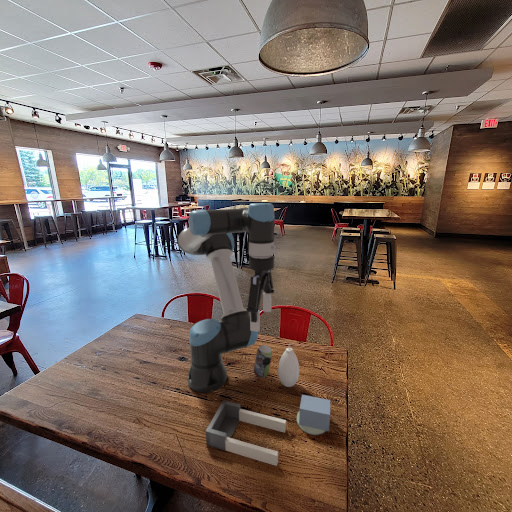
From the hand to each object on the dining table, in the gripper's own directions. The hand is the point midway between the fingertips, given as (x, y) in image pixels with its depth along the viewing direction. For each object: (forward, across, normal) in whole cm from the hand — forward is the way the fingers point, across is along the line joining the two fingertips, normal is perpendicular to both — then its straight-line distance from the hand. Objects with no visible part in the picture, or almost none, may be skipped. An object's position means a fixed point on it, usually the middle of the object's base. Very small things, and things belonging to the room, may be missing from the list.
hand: (261, 320), depth 85 cm
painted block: (+31, -2, -18) cm, 36 cm away
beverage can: (+32, +15, +4) cm, 35 cm away
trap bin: (+32, -14, +8) cm, 35 cm away
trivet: (+32, -2, -18) cm, 36 cm away
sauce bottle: (+32, +12, -7) cm, 35 cm away
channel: (+32, -14, -2) cm, 35 cm away
